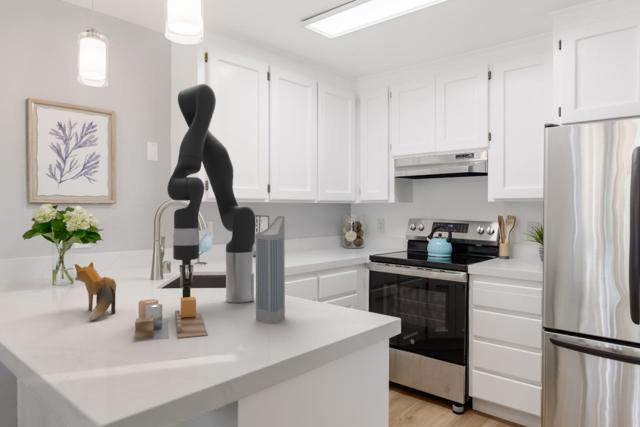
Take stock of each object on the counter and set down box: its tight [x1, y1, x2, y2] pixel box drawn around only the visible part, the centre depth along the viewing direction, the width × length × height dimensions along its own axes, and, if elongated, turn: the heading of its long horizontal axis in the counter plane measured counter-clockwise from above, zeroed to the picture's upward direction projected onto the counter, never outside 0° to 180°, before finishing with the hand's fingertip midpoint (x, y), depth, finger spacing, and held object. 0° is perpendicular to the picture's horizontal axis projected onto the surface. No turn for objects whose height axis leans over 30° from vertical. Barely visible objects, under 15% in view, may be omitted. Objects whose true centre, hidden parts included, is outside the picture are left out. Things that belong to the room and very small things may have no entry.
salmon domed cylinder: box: [138, 298, 159, 318], centre depth 118 cm, size 5×5×6 cm
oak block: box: [134, 317, 154, 339], centre depth 106 cm, size 4×4×4 cm
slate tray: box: [132, 317, 170, 343], centre depth 113 cm, size 8×21×1 cm, turn 20°
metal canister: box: [146, 303, 163, 330], centre depth 113 cm, size 4×4×6 cm
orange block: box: [180, 296, 197, 318], centre depth 124 cm, size 4×4×5 cm
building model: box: [254, 215, 286, 325], centre depth 126 cm, size 8×8×30 cm
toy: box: [74, 261, 117, 321], centre depth 133 cm, size 11×29×15 cm, turn 43°
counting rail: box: [174, 310, 209, 339], centre depth 116 cm, size 23×7×3 cm, turn 20°
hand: (186, 300), depth 131 cm, fingers closed
